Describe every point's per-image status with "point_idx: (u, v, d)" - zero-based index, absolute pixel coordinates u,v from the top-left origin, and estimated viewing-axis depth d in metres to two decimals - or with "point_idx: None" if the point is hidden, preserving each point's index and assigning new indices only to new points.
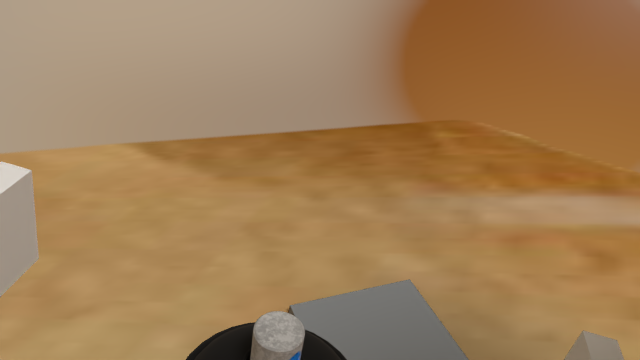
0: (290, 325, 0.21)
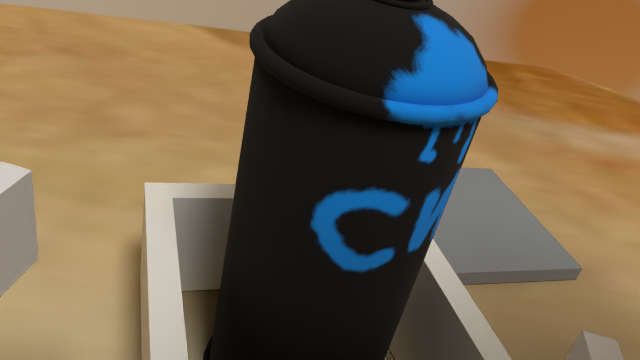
0: None
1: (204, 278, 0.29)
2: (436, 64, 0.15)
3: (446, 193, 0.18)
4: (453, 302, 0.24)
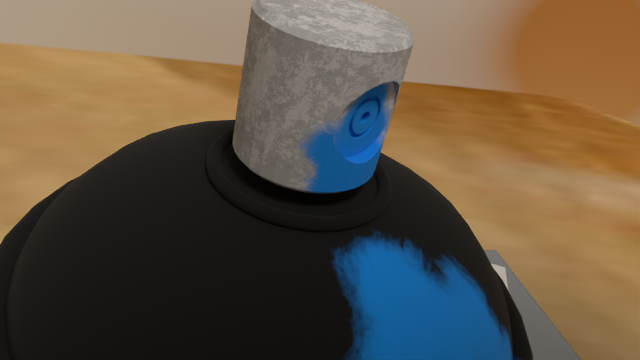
0: (370, 16, 0.07)
1: None
2: None
3: None
4: None
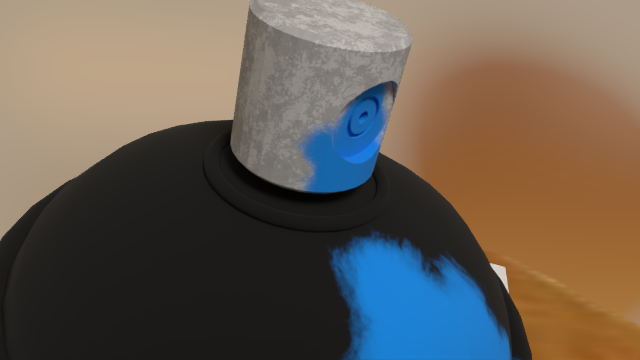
0: (368, 15, 0.07)
1: None
2: None
3: None
4: None
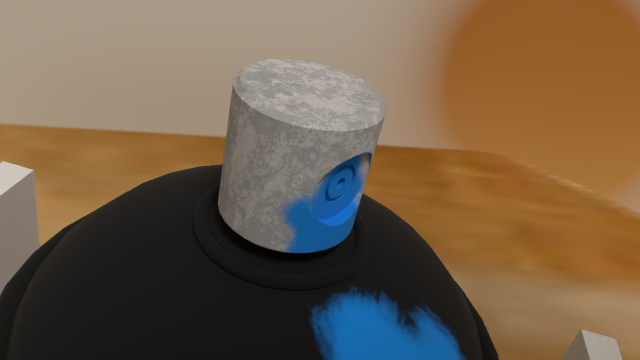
0: (345, 87, 0.07)
1: None
2: None
3: None
4: None
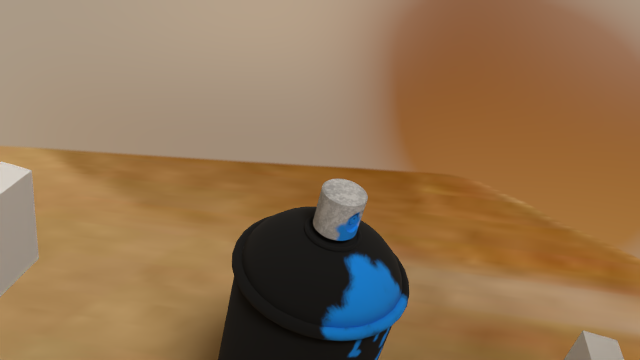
0: (355, 190, 0.24)
1: None
2: (358, 298, 0.23)
3: None
4: None
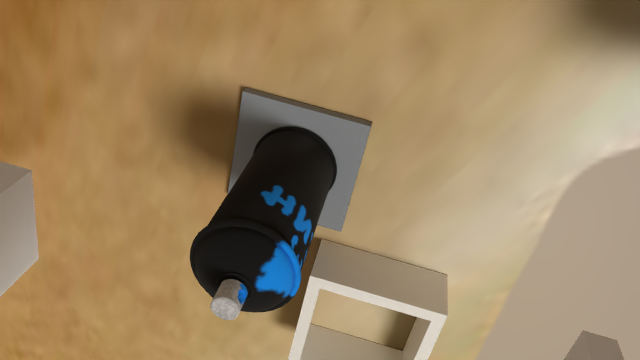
0: (224, 304, 0.36)
1: None
2: (282, 285, 0.39)
3: (301, 227, 0.41)
4: (394, 308, 0.53)
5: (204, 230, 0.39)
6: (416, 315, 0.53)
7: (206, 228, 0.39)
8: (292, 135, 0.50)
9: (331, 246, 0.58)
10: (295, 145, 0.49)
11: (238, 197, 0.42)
